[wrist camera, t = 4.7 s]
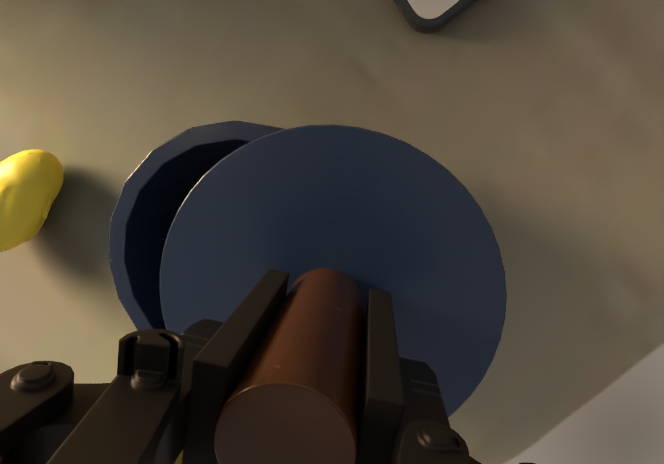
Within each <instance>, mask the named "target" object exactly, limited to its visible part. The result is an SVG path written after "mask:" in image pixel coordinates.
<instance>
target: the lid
mask: <svg viewBox="0 0 664 464" xmlns="http://www.w3.org/2000/svg"><path fill="white" fill-rule="evenodd" d="M269 268H270V269H275V270H280V271H285V272H290V273H289V280H288V286H287V292H286V298H285V300H284V302H283V303H282V305H281V307H280V309H279V310H278V312H277V314H276V316H275V317H274V319H273V321H272V323H271V324H270V326H269V328H268V330H267V331H266V333H265V335H264V337H263V338H262V340H261V342H260V344H259V345H258V347H257V349H256V351H255V352H254V354H253V356H252V358H251V359H250V361H249V363H248V365H247V366H246V368H245V370H244V372H243V373H242V375H241V377H240V379H239V380H238V382H237V384H236V386H235V387H234V389H233V391H232V393H231V394H230V396H229V398H228V400H227V401H226V403H225V405H224V407H223V408H222V410H221V412H220V414H219V416H218V418H217V421H216V424H215V429H214V449H215V453H216V457H217V460H218V462H219V464H356V463H357V455H358V433H359V412H360V391H361V371H362V350H363V329H364V315H365V311H366V306H367V301H368V296H369V291H370V288H372V289H377V290H382V291H387V292H391V298H392V306H393V314H394V322H395V330H396V338H397V346H398V354H399V357H402V358H406V359H411V360H416V361H421V362H426V363H427V365H428V366H429V367H430V368H431V369H432V370H433V371H434V373H435V374H436V377H437V381H438V384H439V388H440V392H441V397H442V399H443V403H444V406H445V410H446V413H447V417H449V416H450V415H452V414H453V413H454V412H455V411H456V410H457V409H458V408H459V407H460V406H461V405H462V404H463V403H464V402H465V401H466V400H467V399H468V398H469V397H470V396H471V394H472V393H473V391H474V390H475V389H476V387H477V386H478V385H479V383H480V382H481V380H482V379H483V377H484V376H485V374H486V372H487V370H488V368H489V366H490V364H491V362H492V361H493V358H494V356H495V353H496V350H497V347H498V345H499V342H500V339H501V334H502V330H503V325H504V320H505V312H506V297H507V293H506V281H505V271H504V266H503V262H502V257H501V253H500V249H499V246H498V244H497V241H496V238H495V236H494V233H493V231H492V228H491V226H490V224H489V222H488V221H487V219H486V217H485V215H484V213H483V212H482V210H481V208H480V206H479V205H478V204H477V202H476V201H475V200H474V198H473V197H472V196H471V194H470V193H469V192H468V190H467V189H466V188H465V187H464V186H463V185H462V184H461V183H460V182H459V181H458V180H457V179H456V178H455V177H454V176H453V175H452V174H451V173H450V172H449V171H448V170H447V169H446V168H445V167H443V166H442V165H441V164H439V163H438V162H437V161H435V160H434V159H433V158H431V157H430V156H429V155H427V154H426V153H424V152H422V151H420V150H418V149H417V148H415V147H413V146H411V145H410V144H408V143H406V142H403V141H401V140H398V139H396V138H393V137H391V136H388V135H386V134H383V133H380V132H375V131H371V130H367V129H363V128H359V127H351V126H342V125H308V126H302V127H296V128H290V129H285V130H281V131H278V132H275V133H272V134H269V135H265V136H262V137H260V138H258V139H256V140H254V141H252V142H250V143H247V144H245V145H243V146H241V147H239V148H238V149H236V150H235V151H233V152H232V153H230V154H229V155H227V156H226V157H224V158H223V159H221V160H220V161H219V162H218V163H217V164H216V165H214V166H213V167H212V168H211V169H210V170H209V171H208V172H207V173H205V174H204V175H203V177H202V178H201V179H200V180H199V181H198V182H197V184H196V185H195V186H194V187H193V188H192V189H191V191H190V192H189V194H188V195H187V197H186V198H185V200H184V201H183V203H182V205H181V206H180V208H179V209H178V211H177V213H176V216H175V218H174V220H173V222H172V225H171V227H170V229H169V232H168V235H167V239H166V242H165V246H164V249H163V254H162V261H161V268H160V299H161V308H162V314H163V318H164V322H165V326H166V330H168V331H173V332H175V333H177V334H179V335H182V333H183V332H184V331H185V330H186V329H187V328H188V327H189V326H190V325H191V324H193V323H195V322H198V321H200V320H202V319H205V318H206V319H211V320H215V321H220V322H225V321H226V320H227V318H228V317H229V316H230V315H231V314H232V312H233V311H234V310H235V309H236V308H237V306H238V305H239V304H240V303H241V302H242V301H243V299H244V298H245V297H246V296H247V295H248V293H249V292H250V291H251V290H252V289H253V287H254V286H255V285H256V284H257V283H258V281H259V280H260V279H261V278H262V277H263V275H264V274H265V273H266V272H267V271H268V270H269Z"/></svg>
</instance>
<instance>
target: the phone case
mask: <svg viewBox="0 0 664 464" xmlns="http://www.w3.org/2000/svg"><path fill="white" fill-rule="evenodd" d="M475 1H477V0H394V2H395V3H396V5H397V6H398V8H399V9H400V11H401V12H402V14H403V15H404V17H405V19H406V20H407V22H408V23H409V24H410V26H411V27H412V28H413V29H415V30H416V31H418V32H421V33H432V32H435V31H437V30H439V29H441V28H442V27H443V26H445V25H446V24H447V23H448V22H450V21H451V20H452V19H454V18H455V17H456V16H457V15H459V14H460V13H461V12H463V11H464V10H465V9H466V8H468V7H469V6H470V5H472V4H473V3H474V2H475Z"/></svg>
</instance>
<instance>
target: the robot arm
mask: <svg viewBox="0 0 664 464" xmlns="http://www.w3.org/2000/svg"><path fill="white" fill-rule="evenodd" d="M289 273H290V272H285V271H280V270H275V269H270V268H269V270H268V271H267V272H266V273H265V274H264V275H263V277H262V278H261V279H260V280H259V281H258V283H257V284H256V285H255V286H254V287H253V289H252V290H251V291H250V292H249V293H248V295H247V296H246V297H245V298H244V299H243V301H242V302H241V303H240V304H239V305H238V306H237V308H236V309H235V310H234V311H233V312H232V314H231V315H230V316H229V317H228V318H227V320H226V321H225V322H220V321H215V320H211V319H206V318H205V319H202V320H200V321H198V322H195V323H193V324H191V325H190V326H189V327H188V328H187V329H186V330H185V331H184V332H183V333H182V335H179V334H177V333H175V332H173V331H168V330H164V329H146V330H138V331H135V332H132V333H130V334H127V335H125V336H124V337H123V338H121V339H120V340H119V352H118V368H117V376H116V377H115V378H114V380H113V381H112V382H111V383H103V384H74V372H73V370H72V368H71V367H70V366H68V365H66V364H64V363H61V362H54V361H35V362H32V363H27V364H23V365H19V366H17V367H14V368H12V369H9V370H7V371H5V372H3V373H1V374H0V464H174V463H175V461H176V459H177V458H178V456H179V455H180V453H181V451H182V450H183V455H182V464H219V462H218V460H217V457H216V453H215V449H214V429H215V424H216V421H217V418H218V416H219V414H220V412H221V410H222V408H223V407H224V405H225V403H226V401H227V400H228V398H229V396H230V394H231V393H232V391H233V389H234V387H235V386H236V384H237V382H238V380H239V379H240V377H241V375H242V373H243V372H244V370H245V368H246V366H247V365H248V363H249V361H250V359H251V358H252V356H253V354H254V352H255V351H256V349H257V347H258V345H259V344H260V342H261V340H262V338H263V337H264V335H265V333H266V331H267V330H268V328H269V326H270V324H271V323H272V321H273V319H274V317H275V316H276V314H277V312H278V310H279V309H280V307H281V305H282V303H283V302H284V300H285V298H286V292H287V286H288V280H289ZM356 464H481V463H480V462H478V461H476V460H475V459H473V458H472V457H470V456H469V450H468V448H467V445H466V442H465V441H464V440H463V439H462V437H461V436H460V435H459V434H458V433H457V432H456V431H454V430H453V429H451V428H450V424H449V421H448V417H447V413H446V410H445V406H444V403H443V399H442V397H441V392H440V388H439V384H438V381H437V377H436V374H435V373H434V371H433V370H432V369H431V368H430V367H429V366H428V365H427V363H426V362H421V361H416V360H411V359H406V358H402V357H399V354H398V346H397V338H396V330H395V322H394V314H393V306H392V298H391V292H387V291H382V290H377V289H372V288H370V291H369V296H368V301H367V306H366V311H365V315H364V329H363V350H362V371H361V391H360V412H359V433H358V455H357V463H356ZM519 464H534V463H519Z"/></svg>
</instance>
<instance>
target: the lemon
mask: <svg viewBox="0 0 664 464" xmlns="http://www.w3.org/2000/svg"><path fill="white" fill-rule="evenodd" d="M63 180H64V174H63V168H62V165H61V163H60V161H59V160H58V159H57V158H56V157H55V156H54V155H52V154H51V153H49V152H46V151H43V150H26V151H22V152H20V153H17V154H15V155H13V156H11V157H9V158H7V159H5V160H4V161H2V162H0V252H3V251H7V250H9V249H12V248H14V247H15V246H17V245H19V244H21V243H23V242H26V241H28V240H29V239H31V238H32V237H34V236H35V235H36V234H37V233H38V231H39V230H40V229H41V227H42V225H43V223H44V221H45V218H47V214H48V212H49V210H50V208H51V206H52V204H53V201H54V200H55V198H56V196H57V195H58V193H59V191H60V189H61V187H62V184H63Z"/></svg>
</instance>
